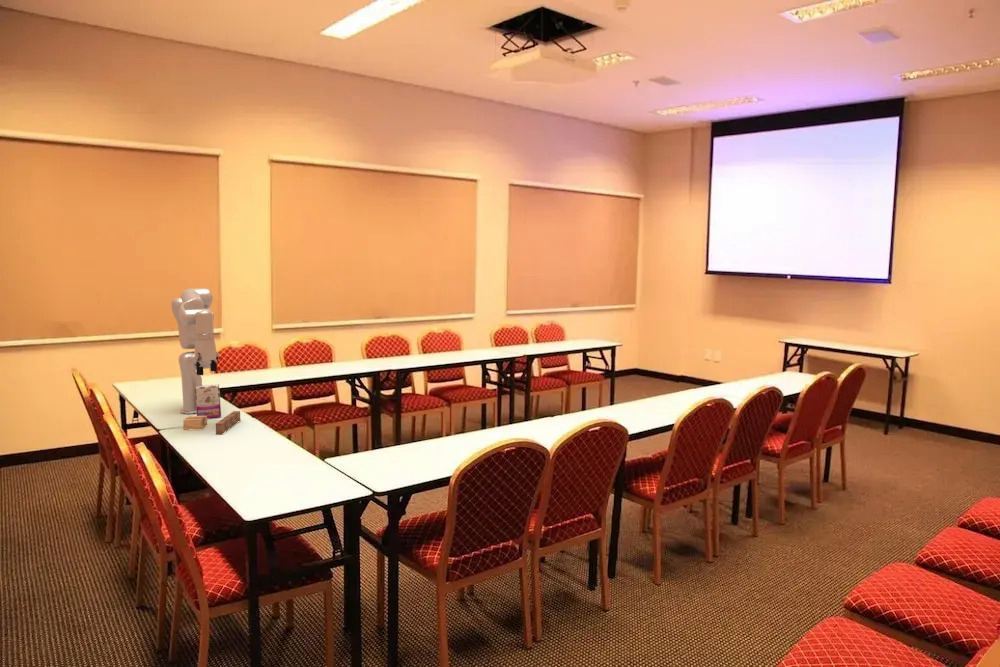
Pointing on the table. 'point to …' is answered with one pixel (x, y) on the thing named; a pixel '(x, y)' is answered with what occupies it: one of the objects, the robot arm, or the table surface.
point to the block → (195, 422)
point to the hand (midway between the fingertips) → (207, 373)
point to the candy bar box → (208, 401)
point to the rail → (227, 422)
